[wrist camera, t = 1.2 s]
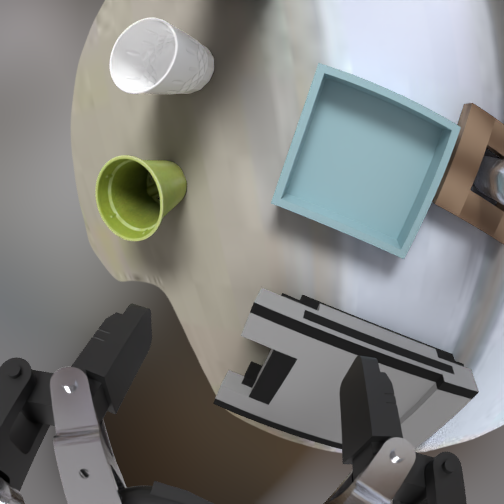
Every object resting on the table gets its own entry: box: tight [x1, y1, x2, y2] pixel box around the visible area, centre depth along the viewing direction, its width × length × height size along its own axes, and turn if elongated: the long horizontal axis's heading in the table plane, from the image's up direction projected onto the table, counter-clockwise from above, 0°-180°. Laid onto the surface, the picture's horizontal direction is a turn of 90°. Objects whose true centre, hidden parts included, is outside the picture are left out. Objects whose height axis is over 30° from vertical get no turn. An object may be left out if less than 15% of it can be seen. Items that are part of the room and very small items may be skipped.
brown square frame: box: [432, 103, 504, 244], centre depth 25 cm, size 12×12×2 cm
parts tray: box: [271, 63, 461, 259], centre depth 28 cm, size 15×15×4 cm
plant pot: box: [95, 155, 187, 241], centre depth 34 cm, size 9×9×9 cm
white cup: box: [110, 18, 214, 94], centre depth 27 cm, size 8×8×10 cm
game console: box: [214, 288, 479, 449], centre depth 38 cm, size 21×32×8 cm, turn 72°
